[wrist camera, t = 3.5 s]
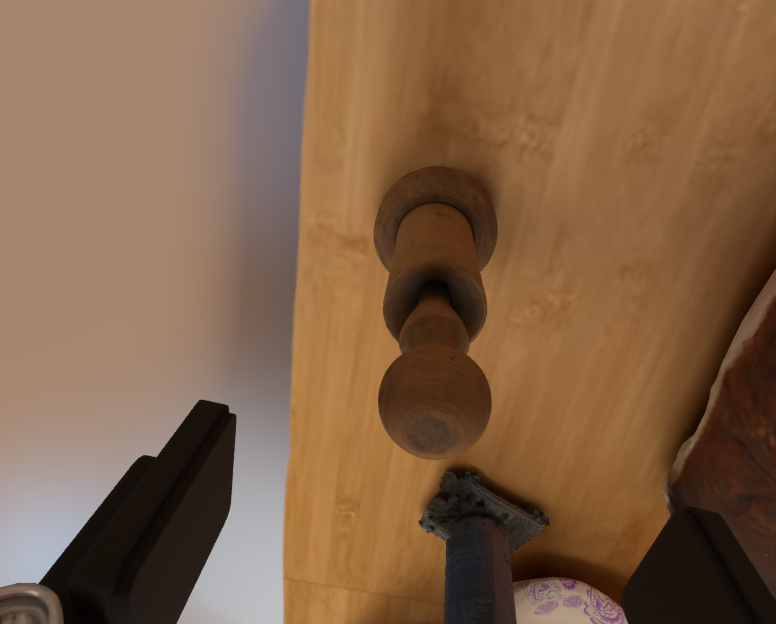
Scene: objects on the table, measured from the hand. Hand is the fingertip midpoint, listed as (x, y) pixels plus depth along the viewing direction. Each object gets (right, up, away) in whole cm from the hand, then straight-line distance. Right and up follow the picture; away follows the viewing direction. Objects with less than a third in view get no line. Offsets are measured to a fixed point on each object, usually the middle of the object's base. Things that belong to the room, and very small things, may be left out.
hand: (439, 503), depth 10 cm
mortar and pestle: (+2, +9, +18) cm, 20 cm away
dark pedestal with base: (+6, -11, +27) cm, 30 cm away
